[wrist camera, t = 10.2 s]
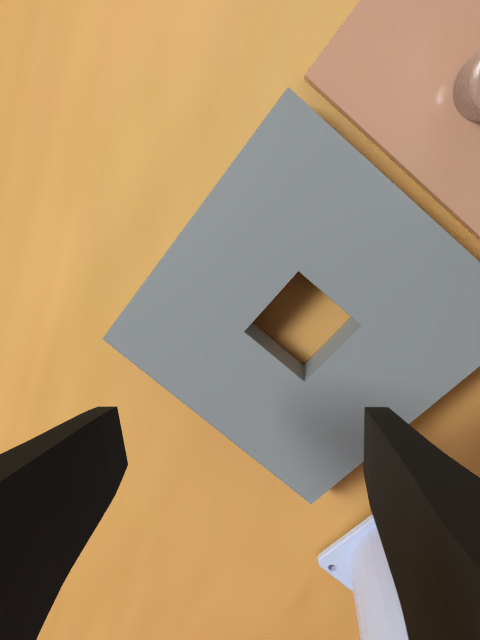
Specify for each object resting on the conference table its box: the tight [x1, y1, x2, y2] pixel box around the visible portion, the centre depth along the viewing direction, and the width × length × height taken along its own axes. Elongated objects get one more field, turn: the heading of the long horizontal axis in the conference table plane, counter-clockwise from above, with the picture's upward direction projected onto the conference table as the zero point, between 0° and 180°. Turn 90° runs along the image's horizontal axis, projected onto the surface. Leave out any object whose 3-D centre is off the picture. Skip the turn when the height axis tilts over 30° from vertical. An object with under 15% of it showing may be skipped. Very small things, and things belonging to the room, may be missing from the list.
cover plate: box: [103, 87, 480, 504], centre depth 18 cm, size 14×14×2 cm
